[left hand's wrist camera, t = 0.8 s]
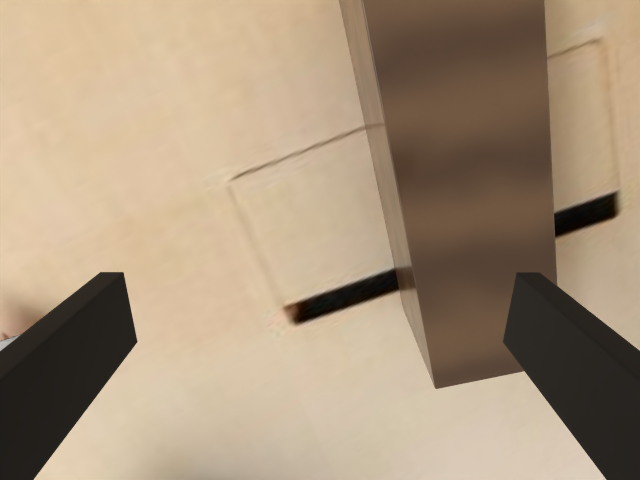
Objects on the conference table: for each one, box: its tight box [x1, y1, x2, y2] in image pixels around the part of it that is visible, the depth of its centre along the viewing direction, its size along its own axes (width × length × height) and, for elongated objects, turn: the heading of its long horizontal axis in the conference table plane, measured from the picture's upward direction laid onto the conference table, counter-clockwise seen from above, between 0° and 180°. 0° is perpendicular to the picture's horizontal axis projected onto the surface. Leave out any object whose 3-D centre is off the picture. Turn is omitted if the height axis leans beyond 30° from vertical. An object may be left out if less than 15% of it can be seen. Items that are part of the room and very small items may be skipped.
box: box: [339, 0, 557, 389], centre depth 27 cm, size 28×9×11 cm, turn 15°
